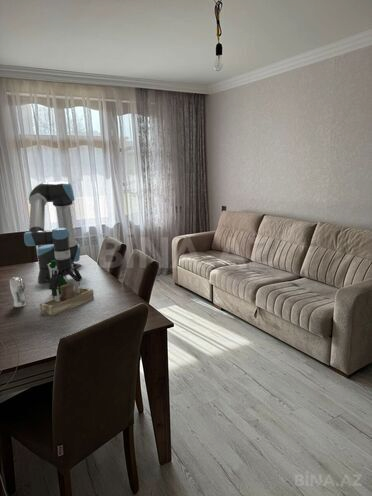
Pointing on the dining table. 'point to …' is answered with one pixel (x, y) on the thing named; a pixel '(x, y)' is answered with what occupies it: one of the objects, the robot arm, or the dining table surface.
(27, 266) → the dining table surface
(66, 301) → the slot well
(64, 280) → the milk carton
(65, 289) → the walnut post
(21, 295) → the beer glass
